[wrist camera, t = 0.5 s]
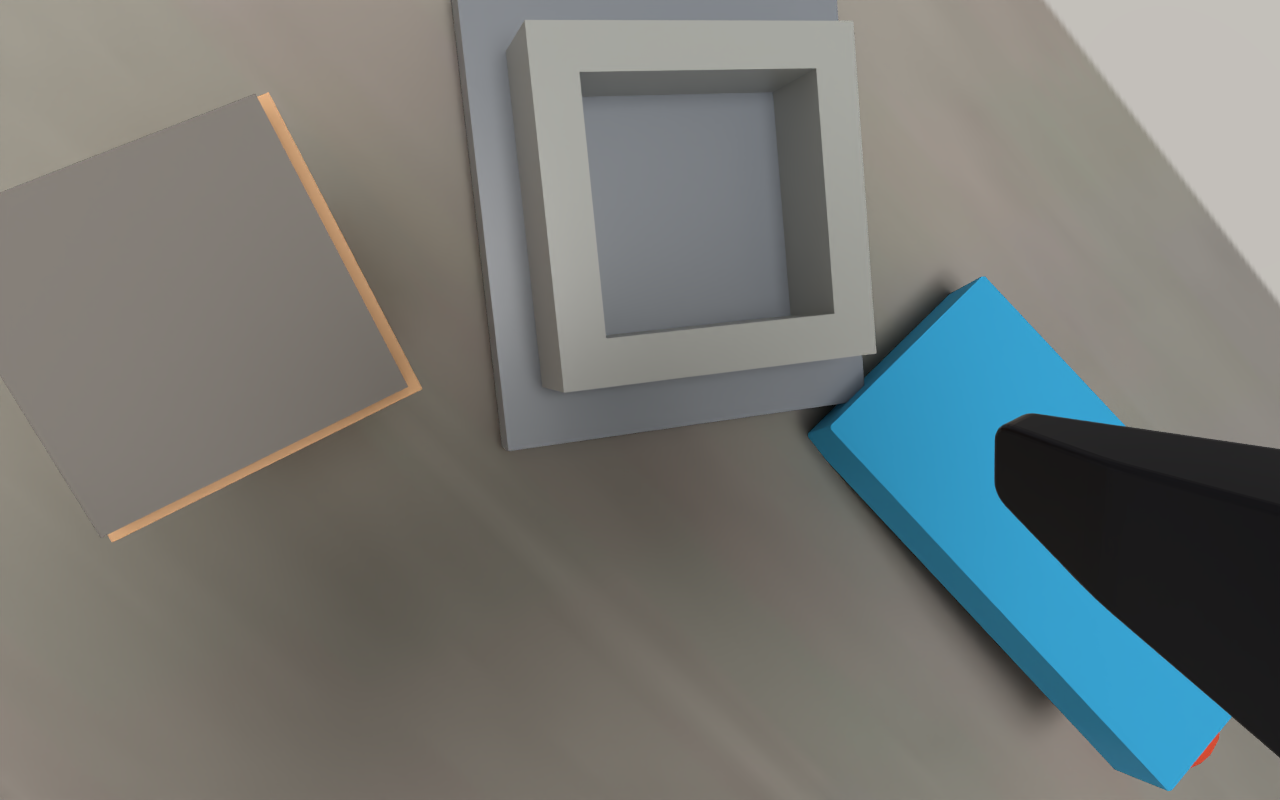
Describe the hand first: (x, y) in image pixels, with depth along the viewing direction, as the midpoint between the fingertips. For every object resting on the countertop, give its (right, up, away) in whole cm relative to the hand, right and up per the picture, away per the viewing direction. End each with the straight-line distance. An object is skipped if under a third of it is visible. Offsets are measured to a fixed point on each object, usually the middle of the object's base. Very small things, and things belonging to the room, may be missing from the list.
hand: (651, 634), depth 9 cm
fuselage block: (-10, +4, +14) cm, 18 cm away
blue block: (+13, -3, +23) cm, 26 cm away
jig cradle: (+1, +8, +17) cm, 19 cm away
